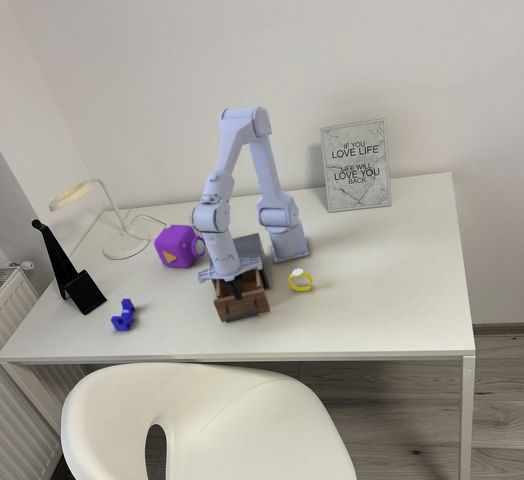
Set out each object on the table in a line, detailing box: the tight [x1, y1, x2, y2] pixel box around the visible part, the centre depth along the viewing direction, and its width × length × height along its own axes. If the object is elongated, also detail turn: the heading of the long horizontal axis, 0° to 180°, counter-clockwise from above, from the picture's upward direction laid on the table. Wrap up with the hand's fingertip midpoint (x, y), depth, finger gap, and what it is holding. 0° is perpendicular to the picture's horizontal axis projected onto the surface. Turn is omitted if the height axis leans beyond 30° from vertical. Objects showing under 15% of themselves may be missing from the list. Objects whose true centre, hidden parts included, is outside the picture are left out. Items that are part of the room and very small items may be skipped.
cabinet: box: [209, 232, 271, 294], centre depth 145 cm, size 14×14×9 cm
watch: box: [287, 267, 314, 292], centre depth 136 cm, size 6×3×6 cm, turn 76°
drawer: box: [213, 268, 271, 324], centre depth 135 cm, size 17×12×7 cm
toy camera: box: [153, 223, 207, 268], centre depth 157 cm, size 11×14×10 cm
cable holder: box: [110, 298, 136, 332], centre depth 145 cm, size 8×4×4 cm, turn 164°
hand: (239, 297), depth 128 cm, fingers closed
